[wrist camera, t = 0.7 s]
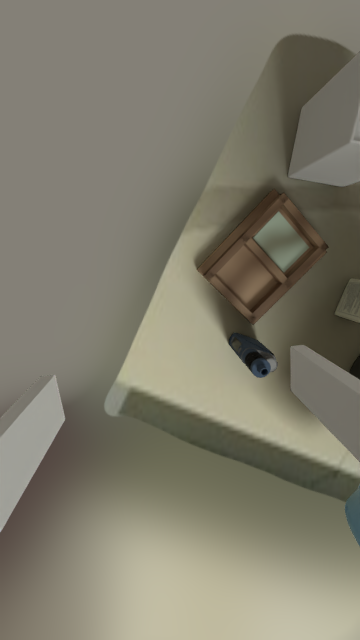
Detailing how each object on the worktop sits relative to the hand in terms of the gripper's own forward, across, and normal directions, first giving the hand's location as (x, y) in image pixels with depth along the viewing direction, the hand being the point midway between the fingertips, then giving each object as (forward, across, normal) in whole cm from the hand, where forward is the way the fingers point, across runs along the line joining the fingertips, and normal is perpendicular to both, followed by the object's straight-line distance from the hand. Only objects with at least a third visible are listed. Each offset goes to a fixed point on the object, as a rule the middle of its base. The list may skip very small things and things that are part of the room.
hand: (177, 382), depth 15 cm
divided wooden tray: (+27, -15, -5) cm, 31 cm away
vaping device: (+27, -11, +8) cm, 31 cm away
